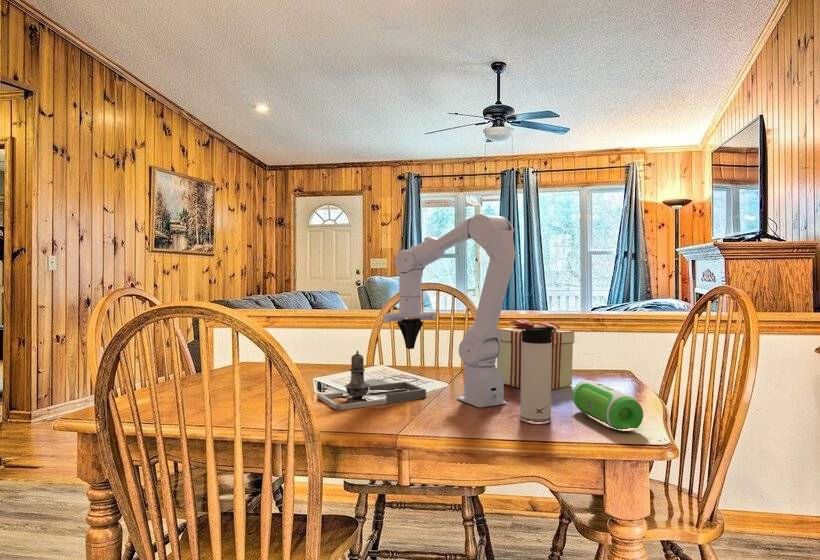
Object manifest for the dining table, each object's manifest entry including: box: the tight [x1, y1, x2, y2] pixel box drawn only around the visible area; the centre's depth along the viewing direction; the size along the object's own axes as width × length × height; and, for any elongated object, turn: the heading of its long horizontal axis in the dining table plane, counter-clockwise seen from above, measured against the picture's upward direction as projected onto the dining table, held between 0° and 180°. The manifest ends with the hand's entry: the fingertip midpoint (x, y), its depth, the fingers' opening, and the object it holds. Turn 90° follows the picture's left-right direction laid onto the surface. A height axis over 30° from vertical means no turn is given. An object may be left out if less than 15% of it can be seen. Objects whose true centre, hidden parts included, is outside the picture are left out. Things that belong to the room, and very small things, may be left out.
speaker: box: [571, 379, 644, 430], centre depth 120 cm, size 18×7×8 cm, turn 11°
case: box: [368, 381, 427, 404], centre depth 142 cm, size 10×10×2 cm
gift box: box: [496, 319, 575, 390], centre depth 157 cm, size 17×18×17 cm
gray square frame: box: [318, 391, 386, 411], centre depth 136 cm, size 12×12×1 cm
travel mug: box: [519, 326, 554, 422], centre depth 120 cm, size 6×7×20 cm
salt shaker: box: [344, 350, 371, 403], centre depth 137 cm, size 6×6×12 cm
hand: (409, 348), depth 150 cm, fingers closed
